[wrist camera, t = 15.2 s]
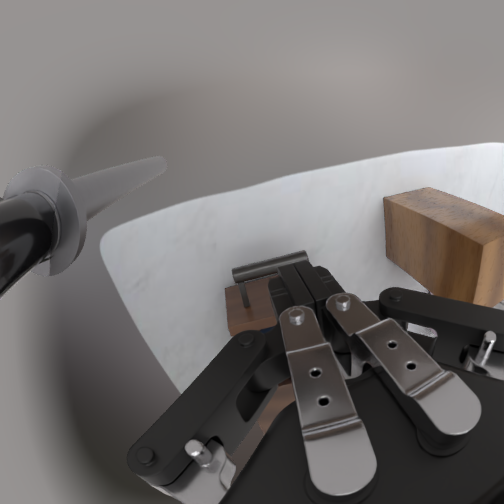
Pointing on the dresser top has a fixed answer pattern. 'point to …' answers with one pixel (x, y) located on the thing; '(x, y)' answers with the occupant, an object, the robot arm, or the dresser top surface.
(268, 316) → the drawer
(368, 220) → the dresser top surface
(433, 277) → the stand
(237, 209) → the dresser top surface
